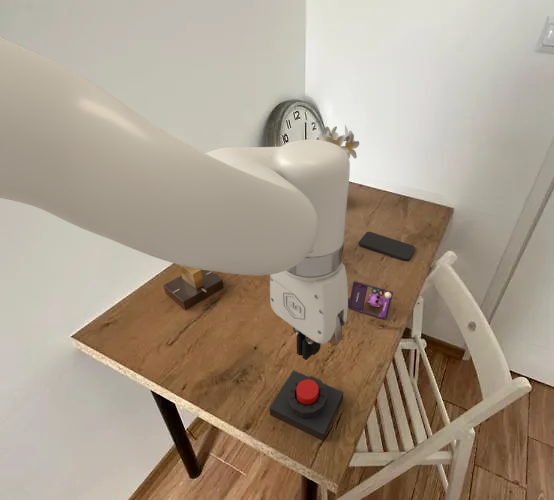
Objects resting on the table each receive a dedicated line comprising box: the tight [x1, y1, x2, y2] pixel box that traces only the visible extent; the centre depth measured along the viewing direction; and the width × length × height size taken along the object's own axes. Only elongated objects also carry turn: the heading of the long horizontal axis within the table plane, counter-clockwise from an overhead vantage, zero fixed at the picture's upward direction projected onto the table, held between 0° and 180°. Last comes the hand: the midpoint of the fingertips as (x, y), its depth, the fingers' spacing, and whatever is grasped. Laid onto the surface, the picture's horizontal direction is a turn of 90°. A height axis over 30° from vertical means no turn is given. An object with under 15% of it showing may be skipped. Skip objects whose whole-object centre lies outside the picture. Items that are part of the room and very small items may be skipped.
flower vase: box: [316, 124, 360, 160], centre depth 112 cm, size 13×18×25 cm
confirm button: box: [297, 379, 319, 405], centre depth 58 cm, size 4×4×2 cm
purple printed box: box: [348, 280, 394, 321], centre depth 80 cm, size 7×5×9 cm
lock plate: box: [162, 269, 224, 311], centre depth 81 cm, size 10×10×3 cm
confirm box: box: [269, 370, 345, 442], centre depth 60 cm, size 10×8×4 cm
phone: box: [358, 231, 416, 262], centre depth 101 cm, size 7×1×15 cm
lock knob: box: [178, 265, 204, 289], centre depth 79 cm, size 6×2×5 cm, turn 51°
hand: (308, 350), depth 52 cm, fingers closed
